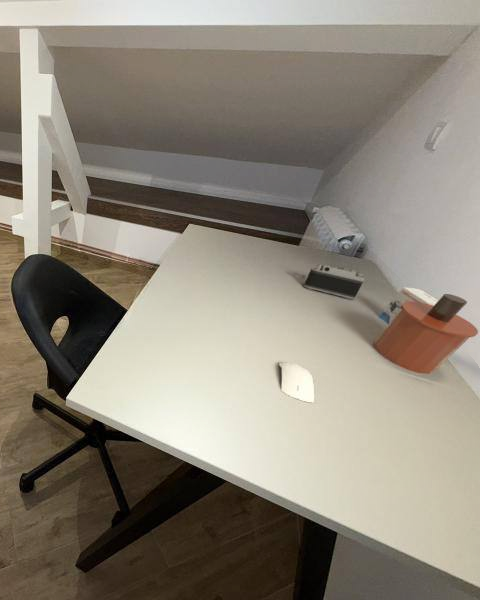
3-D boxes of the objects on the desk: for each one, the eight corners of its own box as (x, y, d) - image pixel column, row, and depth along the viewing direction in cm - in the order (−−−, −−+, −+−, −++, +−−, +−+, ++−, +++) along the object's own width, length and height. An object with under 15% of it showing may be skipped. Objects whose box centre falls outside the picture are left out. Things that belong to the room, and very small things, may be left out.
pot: (420, 351, 86) (456, 314, 79) (441, 382, 76) (484, 342, 69) (367, 336, 90) (396, 299, 83) (380, 363, 80) (415, 324, 73)
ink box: (377, 317, 99) (401, 286, 93) (392, 318, 100) (417, 287, 93) (399, 334, 92) (427, 302, 86) (415, 336, 92) (445, 304, 86)
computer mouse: (280, 393, 69) (285, 386, 67) (276, 359, 78) (281, 352, 77) (315, 405, 67) (321, 398, 65) (307, 369, 76) (311, 362, 75)
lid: (456, 315, 80) (477, 293, 76) (487, 347, 69) (513, 323, 65) (391, 299, 84) (408, 277, 80) (411, 326, 73) (431, 303, 70)
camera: (345, 295, 113) (358, 269, 110) (355, 301, 105) (370, 273, 102) (297, 283, 118) (308, 258, 114) (304, 288, 110) (316, 261, 107)
